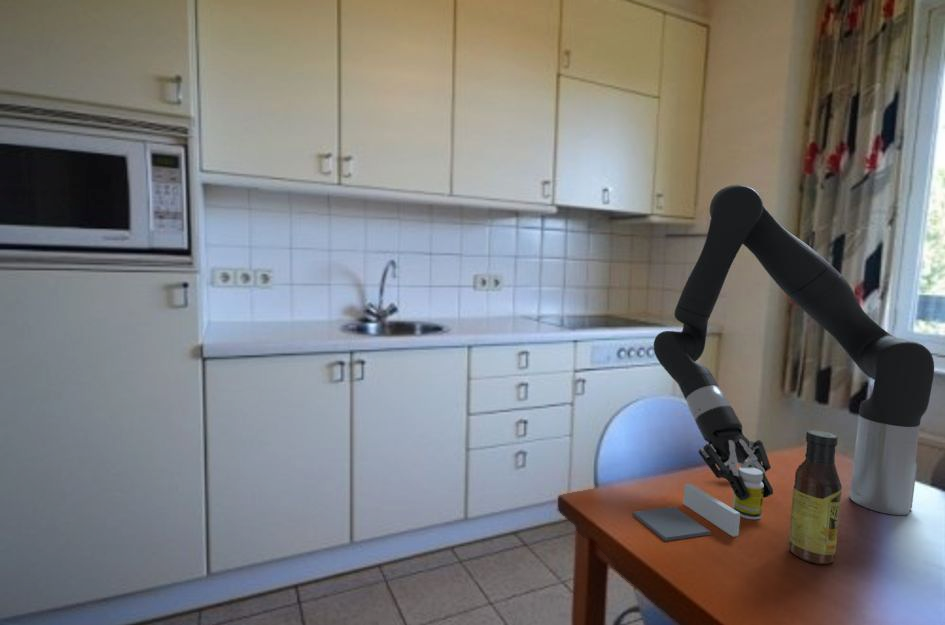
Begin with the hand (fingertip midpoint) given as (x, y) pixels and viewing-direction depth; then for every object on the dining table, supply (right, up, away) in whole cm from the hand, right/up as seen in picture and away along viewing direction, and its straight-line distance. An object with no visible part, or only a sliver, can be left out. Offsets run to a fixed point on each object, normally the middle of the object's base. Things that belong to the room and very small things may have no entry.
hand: (757, 496), depth 91 cm
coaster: (-17, -4, -3) cm, 18 cm away
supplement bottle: (-1, -4, +2) cm, 5 cm away
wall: (-9, -4, 0) cm, 10 cm away
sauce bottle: (+2, -5, -11) cm, 12 cm away
